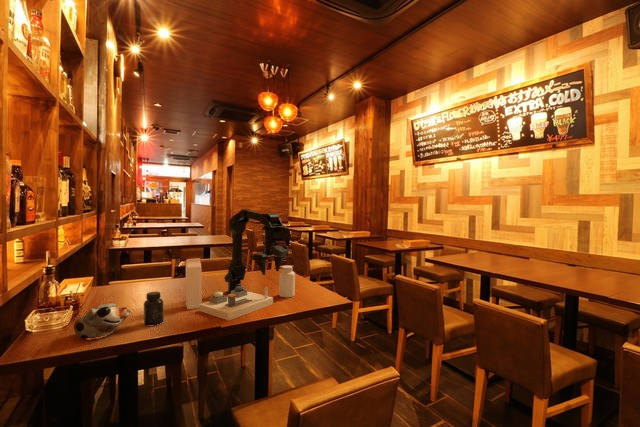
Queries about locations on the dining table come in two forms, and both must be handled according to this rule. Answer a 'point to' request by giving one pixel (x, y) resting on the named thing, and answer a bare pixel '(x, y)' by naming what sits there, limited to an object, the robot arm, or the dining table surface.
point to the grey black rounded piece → (100, 321)
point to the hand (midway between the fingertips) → (270, 273)
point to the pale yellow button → (218, 294)
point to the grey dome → (238, 288)
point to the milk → (193, 283)
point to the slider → (231, 299)
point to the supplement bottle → (153, 309)
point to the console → (236, 304)
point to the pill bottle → (287, 282)
